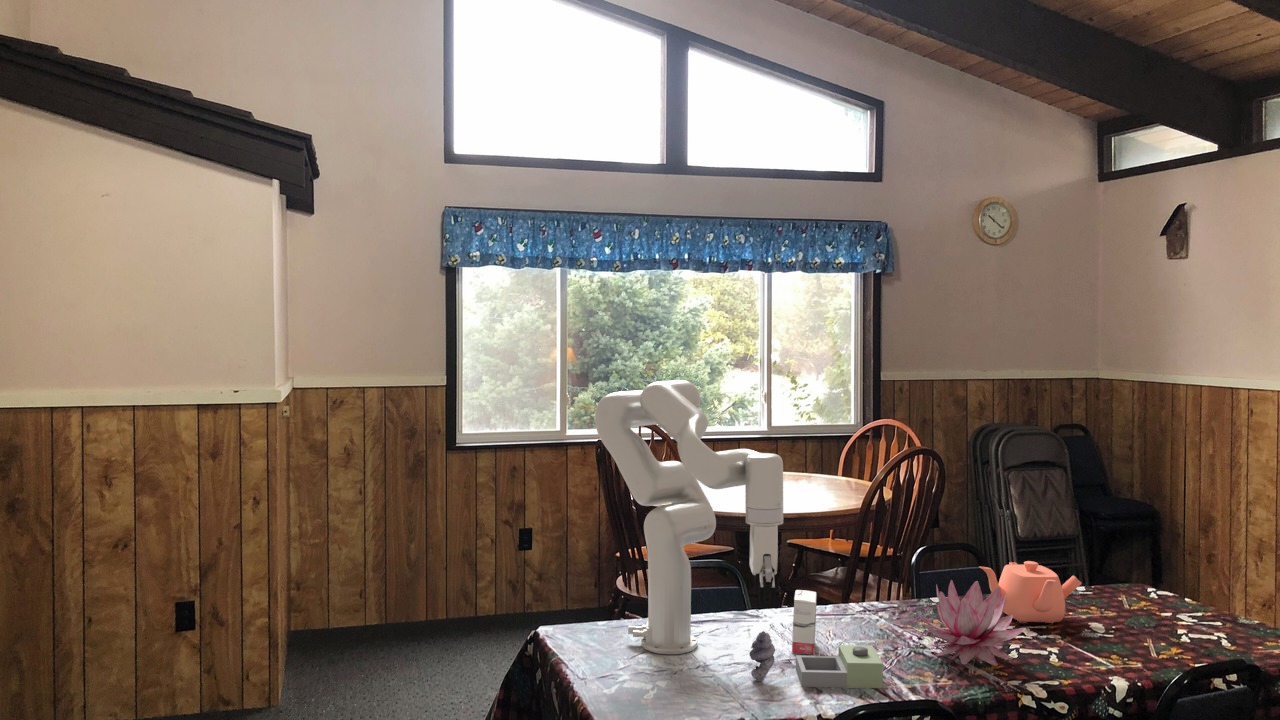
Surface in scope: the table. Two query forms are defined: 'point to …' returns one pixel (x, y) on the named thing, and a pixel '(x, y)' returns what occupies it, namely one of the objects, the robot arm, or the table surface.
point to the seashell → (762, 655)
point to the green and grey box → (842, 669)
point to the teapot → (1032, 592)
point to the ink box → (804, 622)
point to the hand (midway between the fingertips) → (764, 599)
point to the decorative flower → (973, 624)
